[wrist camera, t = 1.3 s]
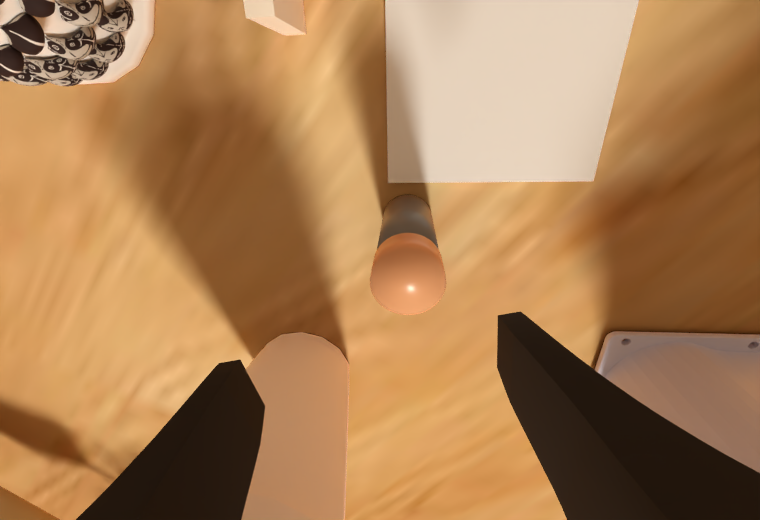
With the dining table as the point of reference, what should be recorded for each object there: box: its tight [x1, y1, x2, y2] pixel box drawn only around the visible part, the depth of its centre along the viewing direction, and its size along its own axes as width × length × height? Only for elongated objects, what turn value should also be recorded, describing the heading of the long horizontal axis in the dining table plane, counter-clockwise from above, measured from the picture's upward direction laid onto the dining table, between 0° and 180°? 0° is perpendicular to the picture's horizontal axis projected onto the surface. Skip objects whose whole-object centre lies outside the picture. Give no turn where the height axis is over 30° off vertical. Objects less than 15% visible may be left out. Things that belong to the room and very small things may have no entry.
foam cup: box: [241, 332, 349, 520], centre depth 18 cm, size 10×9×13 cm
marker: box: [370, 195, 446, 315], centre depth 15 cm, size 3×3×7 cm
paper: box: [385, 0, 639, 183], centre depth 15 cm, size 10×8×1 cm
